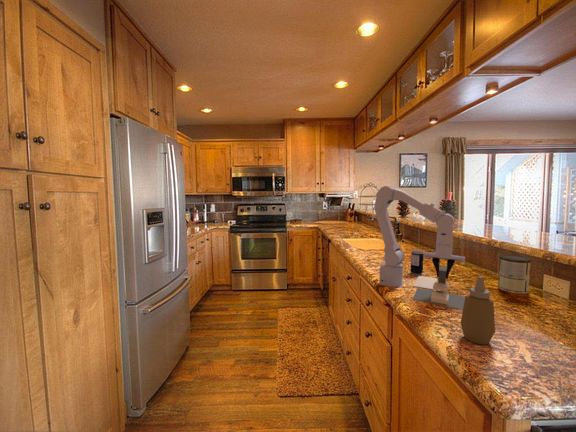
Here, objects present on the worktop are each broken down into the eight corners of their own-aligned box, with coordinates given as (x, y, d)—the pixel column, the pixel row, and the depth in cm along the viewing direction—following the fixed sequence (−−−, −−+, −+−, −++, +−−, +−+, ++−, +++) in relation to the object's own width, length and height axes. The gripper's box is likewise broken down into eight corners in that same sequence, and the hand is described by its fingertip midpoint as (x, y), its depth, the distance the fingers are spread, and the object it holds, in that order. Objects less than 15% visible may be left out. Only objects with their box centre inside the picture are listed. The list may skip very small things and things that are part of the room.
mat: (411, 301, 105) (411, 299, 105) (417, 289, 117) (417, 288, 117) (471, 313, 95) (471, 311, 95) (471, 299, 107) (471, 297, 107)
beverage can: (424, 275, 137) (425, 252, 136) (411, 275, 138) (412, 251, 137) (420, 272, 142) (422, 249, 141) (409, 271, 143) (410, 249, 142)
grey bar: (432, 288, 106) (433, 273, 105) (436, 278, 118) (437, 265, 118) (448, 291, 103) (448, 275, 102) (450, 280, 115) (450, 266, 115)
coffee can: (493, 284, 124) (495, 253, 123) (521, 287, 121) (524, 255, 120) (503, 292, 115) (505, 259, 113) (533, 295, 111) (536, 261, 110)
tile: (432, 295, 109) (430, 301, 103) (432, 291, 109) (430, 297, 103) (448, 298, 106) (447, 305, 100) (448, 294, 106) (447, 300, 100)
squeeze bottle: (453, 332, 81) (456, 273, 80) (478, 331, 82) (482, 272, 81) (473, 348, 73) (478, 282, 72) (502, 346, 74) (506, 281, 73)
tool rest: (413, 287, 119) (413, 285, 119) (418, 277, 134) (418, 275, 134) (433, 291, 115) (433, 289, 115) (437, 280, 129) (437, 278, 129)
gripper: (465, 244, 109) (463, 277, 111) (425, 240, 117) (423, 271, 118) (465, 247, 103) (463, 282, 105) (423, 243, 111) (421, 276, 113)
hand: (442, 277), depth 111 cm, fingers closed on grey bar, 2 cm apart
